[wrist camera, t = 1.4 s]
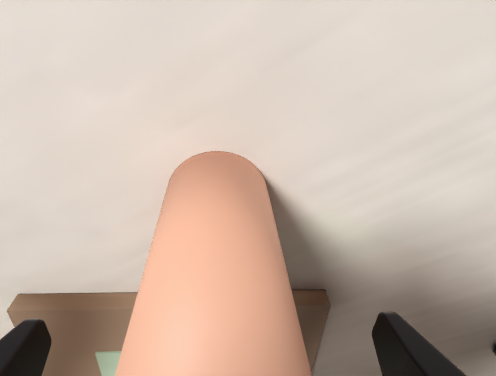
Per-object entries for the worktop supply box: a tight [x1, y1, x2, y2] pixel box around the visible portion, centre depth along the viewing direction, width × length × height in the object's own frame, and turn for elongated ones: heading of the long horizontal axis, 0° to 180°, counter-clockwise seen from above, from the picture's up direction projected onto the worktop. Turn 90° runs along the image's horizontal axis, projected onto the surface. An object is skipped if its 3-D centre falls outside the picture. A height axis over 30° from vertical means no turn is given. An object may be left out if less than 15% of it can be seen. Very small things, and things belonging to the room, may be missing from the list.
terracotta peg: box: [115, 151, 312, 376], centre depth 10 cm, size 4×4×9 cm
